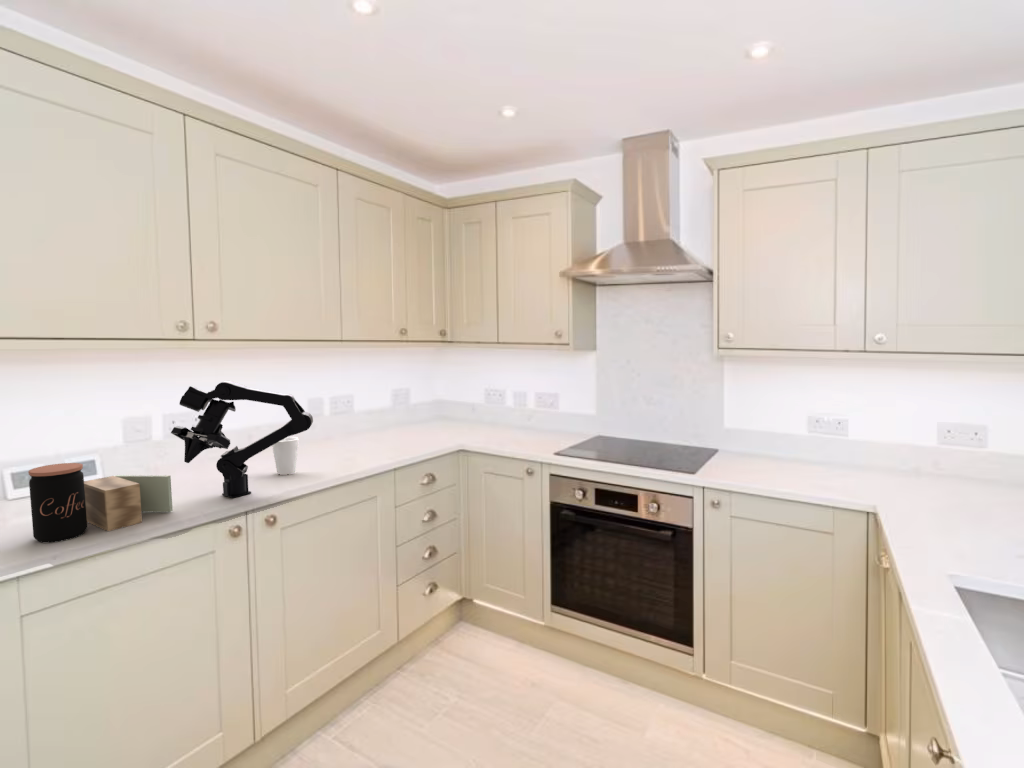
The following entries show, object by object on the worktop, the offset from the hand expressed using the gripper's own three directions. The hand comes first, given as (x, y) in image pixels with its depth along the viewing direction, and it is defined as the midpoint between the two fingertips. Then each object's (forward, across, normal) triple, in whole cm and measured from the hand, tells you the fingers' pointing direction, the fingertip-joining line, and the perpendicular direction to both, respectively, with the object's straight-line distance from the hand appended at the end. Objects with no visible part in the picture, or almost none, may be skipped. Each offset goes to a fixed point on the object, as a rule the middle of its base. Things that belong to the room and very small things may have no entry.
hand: (186, 462), depth 161 cm
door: (+16, +6, -1) cm, 17 cm away
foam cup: (-13, -1, -41) cm, 43 cm away
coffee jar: (+29, +8, +16) cm, 34 cm away
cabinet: (+22, +6, +6) cm, 23 cm away
